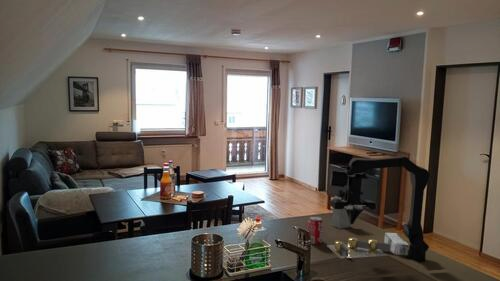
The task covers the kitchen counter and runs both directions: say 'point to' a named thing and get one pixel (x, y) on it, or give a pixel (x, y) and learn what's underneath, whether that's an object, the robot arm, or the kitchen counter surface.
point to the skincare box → (340, 217)
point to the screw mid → (358, 243)
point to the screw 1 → (341, 248)
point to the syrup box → (396, 244)
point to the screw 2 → (378, 245)
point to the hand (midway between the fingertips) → (351, 224)
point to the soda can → (315, 229)
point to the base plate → (358, 252)
